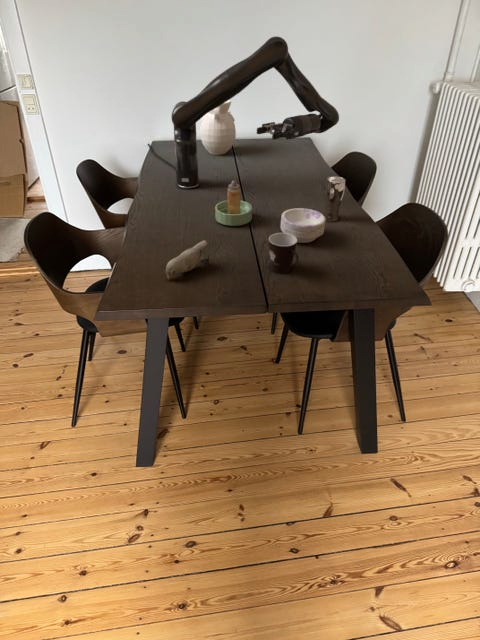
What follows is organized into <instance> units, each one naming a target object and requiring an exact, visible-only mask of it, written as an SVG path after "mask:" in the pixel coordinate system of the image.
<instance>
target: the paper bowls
mask: <svg viewBox="0 0 480 640" xmlns="http://www.w3.org/2000/svg"><path fill="white" fill-rule="evenodd" d="M323 214H324V213H321V212H320V211H318V210H315V209H311V208H305V207H303V208H302V207H297V208H296V207H295V208H290V209H287V210H285V211H283V212H282V213H281V217H280V218H281V219H280V230H281V233H288V234H291V235H294V236H295V237H296V238H297V243H299V244H307V243H311V242H314V241H315V240H316V239H318V238H319V237H321V236H323V234H324V233H325V225H326V222H327V221H326V219H325V216H324V215H323Z"/></svg>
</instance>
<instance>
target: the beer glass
mask: <svg viewBox="0 0 480 640" xmlns="http://www.w3.org/2000/svg"><path fill="white" fill-rule="evenodd" d="M345 190H346V179H345V178H344V177H341V176H336V175H335V176H328V177H327V178H326V184H325V189H324V212H323V213H322V214H323V215H324V216H325V219H326V221H325V222H331V223H332V222H337V221H338V220H340V213H339V212H340V208H341V204H342V202H343V199H344V196H345Z"/></svg>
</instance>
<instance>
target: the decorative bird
mask: <svg viewBox="0 0 480 640" xmlns="http://www.w3.org/2000/svg"><path fill="white" fill-rule="evenodd" d="M207 245H208V242H207V241H206V240H201V241H200V242H198V243H197V244H195V245H194V246H191V247H189V248H187V249H185V250H184V251H182V252H181V253H180V254H179V255H178V256H176V257H174V258H172V259H170V260H169V261H168V262H167V264H166V267H165V275H166V277H167V280H168V281H170V280H171V279H173V278H174V276H175V275H177V274H178V273H179V274H182V273H183V274H184V273H188V272H190V271H192V270H193V269H195V267H197V265H199V263H200V262H201V261H205V263H207V264H210V255H208V256H207V258H205V257H204V248H205V247H206V246H207Z"/></svg>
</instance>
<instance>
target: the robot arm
mask: <svg viewBox="0 0 480 640" xmlns="http://www.w3.org/2000/svg"><path fill="white" fill-rule="evenodd" d="M272 69H275V70H276V72H278V73H279V75H280V76H281V77H282V78H283V79H284V80H285V82H286V83H287V84H288V86H289V87H290V89H291V90H292V92H293V94H294V95H295V96H296V98H297V99H298V101H299V102H300V104H301V105H302V106H303V107H304V108H305V110H306V111H307V112H308V113H307V114H298V115H294V116H289V117H285V118H284V120H283V121H282V122H278V123H276V122H275V121H272V122H266V123H262V124H261V126H258V127H257V128H256V135H262V134H270V135H272V136H271V139H272V140H274V141H275V140H279V139H282V140H284V139H285V140H292V139H297V138H300V137H304V136H306V135H311V134H322V133H326V132H327V131H328V130H330V129H332V128H333V127H335V126H336V125H337V124H338V123H339V122H340V114H339V112H338V111H339V110H337V108H336V107H335V106H334V105H333V104H331V103H330V102H329V101H328V100H326V99H324V98H323V97H322V96H321V94H320V93H319V91H318V90H317V89H316V88H315V86H314V85H313V84H312V83H311V80H309V79H308V78H307V76H305V74H304V73H303V72H302V71H301V70H300V69H299V67H298V66H297V64H296V63H295V62H294V60H293V58H292V55H291V54H290V52H289V46H288V43H287V41H286V40H285V39H284V38H283V37H281V36H277V35H275V36H271V37H270V38H269V39H267V40H265V42H264V44H262V45H261V46H260V47H259V48H258V49H257V50H255V51H254V52H253V53H252V54H250V55H249V56H248V57H246V58H244V59H243V60H240V61H239V62H236V63H235V64H233V65H232V66H230V67H228V68H227V69H225V70H224V71H222V72H221V73H220V74H218V75H217V76H216V77H214V78H213V79H212V80H211V81H210V82H209V83H208V84H207V85H206V86H205V87H204V88H203V89H202V90H201V91H200V92H199V93H198V94H196V95H195V96H193V97H192V98H190V99H189V100H188V101H185V100H183V101H179V102H177V103H176V104H175V105H174V106H173V109H172V111H171V117H170V118H171V122H172V125H173V143H174V155H175V164H172V163H171V162H169V161H167V160H165V159H164V158H163V157H161V156H159V155H158V154H157V153H156V152H155V151H154V150H153V149H152V147H151V144H150V143H149V142H148V143H147V146H148V148H149V150H150V152H151V153H152V154H153V155H154V156H155V157H157V158H158V159H159V160H161V161H163V162H164V163H166V164H168V165H169V166H171V167H172V168H173V169H175V173H176V174H175V177H176V184H177V187H178V188H180V189H184V190H190V189H191V190H192V189H195V188H198V187H199V186H200V181H199V180H200V179H199V164H198V163H199V162H198V161H199V159H198V145H197V142H198V141H197V122H199V120H201V119H202V117H203V116H204V115H206V114H207V113H208V112H210V111H211V110H213V109H215V108H217V107H218V106H220V105H222V104H223V103H225V102H226V101H228V100H231V99H233V98H234V97H236V96H237V95H239V93H241V92H242V91H243V90H245V89H246V88H247V87H248V86H250V85H251V84H252V83H253V82H254V81H255V80H256V79H257V78H258V77H260V76H262V75H263V74H264V73H266V72H268V71H269V70H272ZM313 112H317V113H318V114H316V113H313Z"/></svg>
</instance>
